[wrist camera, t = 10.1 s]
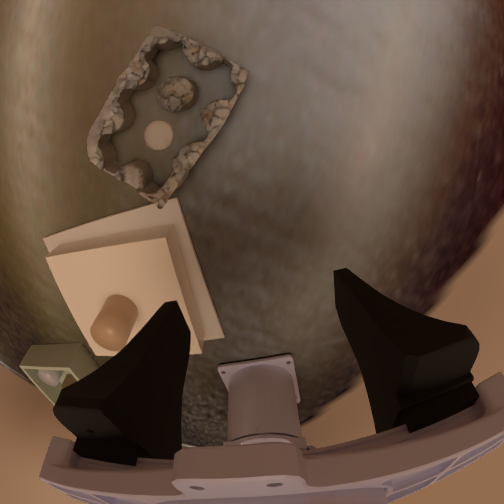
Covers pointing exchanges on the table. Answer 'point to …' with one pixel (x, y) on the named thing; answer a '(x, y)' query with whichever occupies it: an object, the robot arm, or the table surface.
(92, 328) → the lid
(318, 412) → the table surface
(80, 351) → the storage box
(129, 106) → the rocky grey tray
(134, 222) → the mat
